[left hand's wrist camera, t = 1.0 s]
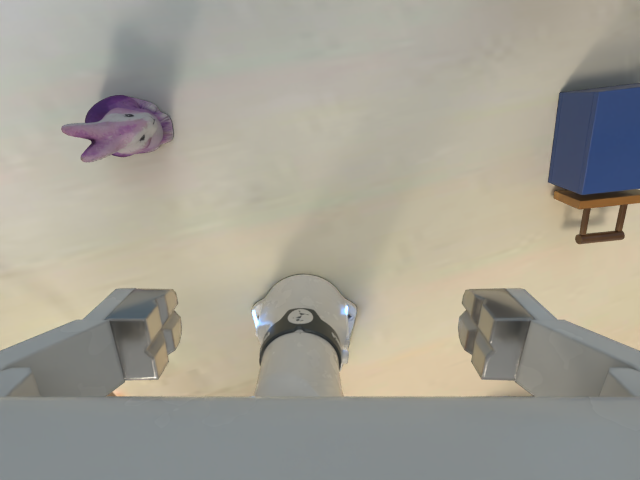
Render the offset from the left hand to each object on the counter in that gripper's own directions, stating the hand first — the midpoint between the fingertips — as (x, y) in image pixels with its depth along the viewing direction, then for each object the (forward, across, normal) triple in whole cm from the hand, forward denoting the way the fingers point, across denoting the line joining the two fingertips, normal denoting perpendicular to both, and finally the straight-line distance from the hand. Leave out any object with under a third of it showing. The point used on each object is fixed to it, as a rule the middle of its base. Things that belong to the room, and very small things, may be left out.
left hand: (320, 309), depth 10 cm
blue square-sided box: (+46, +40, +1) cm, 61 cm away
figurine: (+46, -26, +2) cm, 53 cm away
